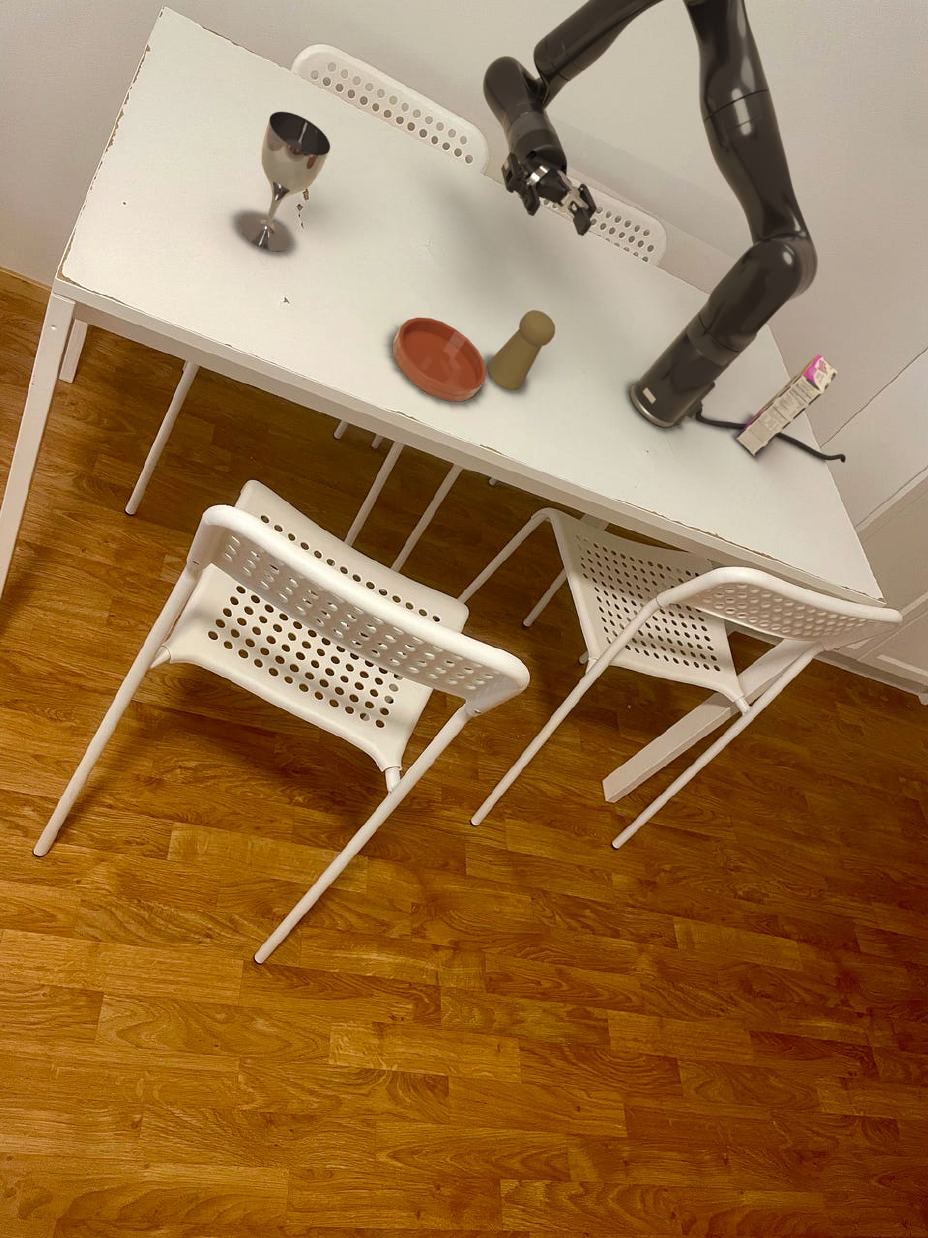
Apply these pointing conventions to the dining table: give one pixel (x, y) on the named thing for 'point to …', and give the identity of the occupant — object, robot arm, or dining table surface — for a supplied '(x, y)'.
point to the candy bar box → (787, 404)
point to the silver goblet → (285, 172)
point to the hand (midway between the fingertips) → (560, 220)
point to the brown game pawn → (521, 350)
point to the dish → (439, 359)
